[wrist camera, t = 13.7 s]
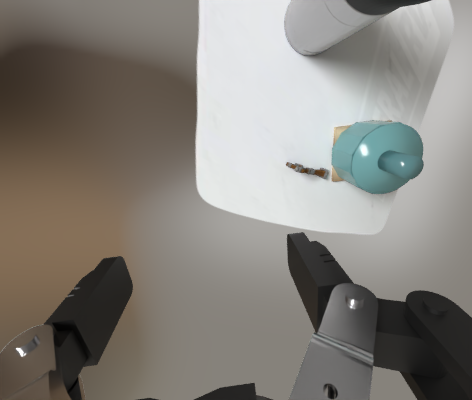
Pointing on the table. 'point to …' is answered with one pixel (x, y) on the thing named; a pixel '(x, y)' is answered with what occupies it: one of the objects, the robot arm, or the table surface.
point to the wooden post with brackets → (308, 170)
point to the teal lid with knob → (378, 155)
